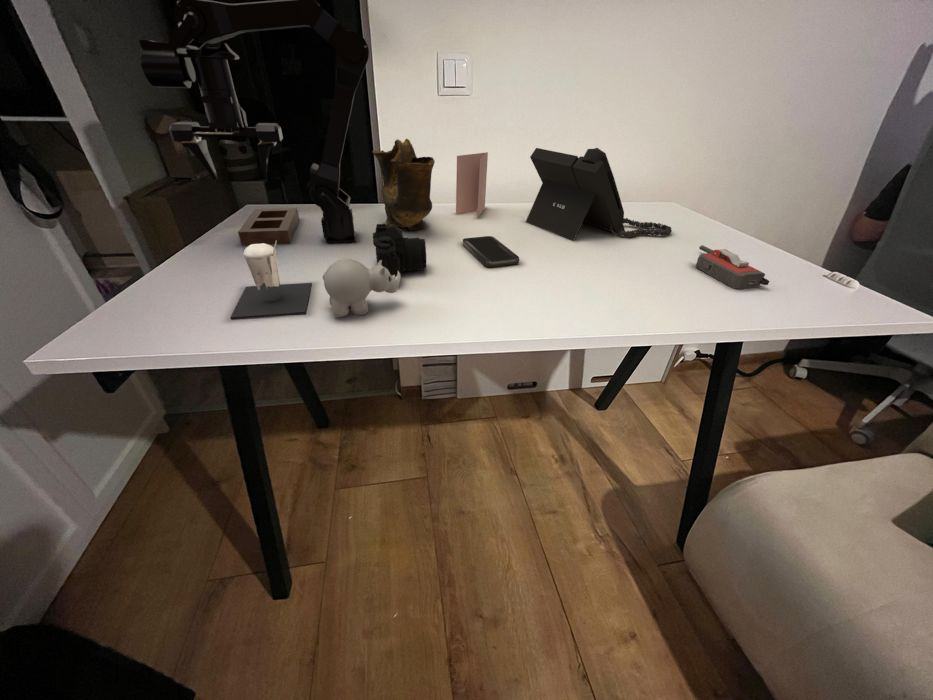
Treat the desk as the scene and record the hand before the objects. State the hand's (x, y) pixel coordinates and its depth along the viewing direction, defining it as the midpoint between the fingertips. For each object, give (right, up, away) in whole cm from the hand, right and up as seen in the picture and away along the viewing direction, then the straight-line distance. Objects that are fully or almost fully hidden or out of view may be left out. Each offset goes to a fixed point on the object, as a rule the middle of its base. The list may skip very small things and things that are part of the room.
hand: (241, 179), depth 83 cm
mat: (+14, -27, -15) cm, 34 cm away
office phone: (+81, -2, +25) cm, 85 cm away
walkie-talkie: (+100, -18, +3) cm, 102 cm away
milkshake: (+14, -27, -15) cm, 34 cm away
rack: (0, -7, +13) cm, 15 cm away
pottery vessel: (+31, -3, +21) cm, 37 cm away
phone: (+52, -14, +6) cm, 54 cm away
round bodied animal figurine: (+30, -28, -16) cm, 44 cm away
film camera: (+34, -20, -4) cm, 39 cm away
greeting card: (+50, +4, +32) cm, 59 cm away
